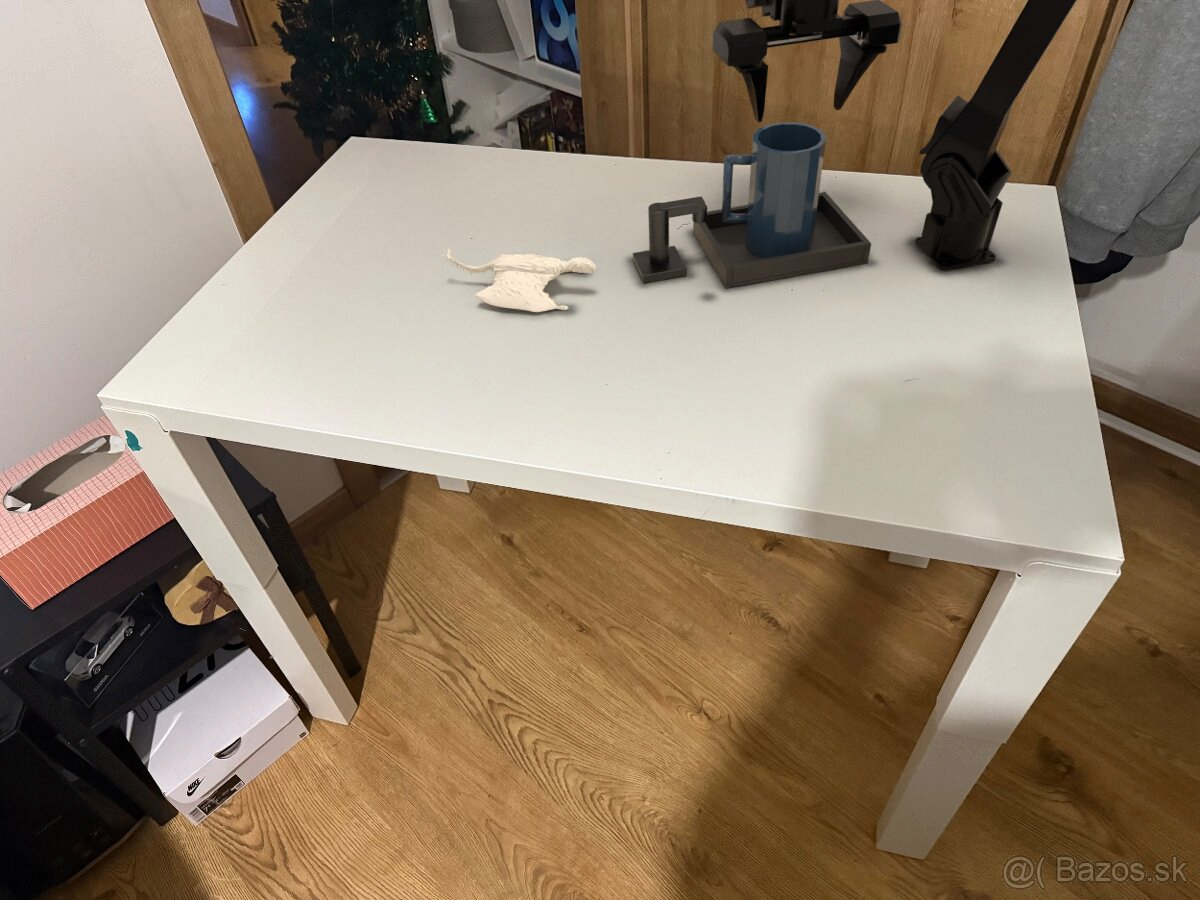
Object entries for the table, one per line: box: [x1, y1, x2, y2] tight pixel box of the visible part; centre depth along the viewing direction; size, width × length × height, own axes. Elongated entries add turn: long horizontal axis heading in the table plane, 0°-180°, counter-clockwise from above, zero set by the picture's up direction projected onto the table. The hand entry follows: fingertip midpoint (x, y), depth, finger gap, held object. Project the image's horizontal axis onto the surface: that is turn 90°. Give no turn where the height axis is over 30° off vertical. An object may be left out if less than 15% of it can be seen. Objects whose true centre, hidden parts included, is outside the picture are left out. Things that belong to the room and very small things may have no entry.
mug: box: [721, 121, 827, 259], centre depth 90 cm, size 10×7×12 cm
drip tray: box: [692, 191, 872, 289], centre depth 93 cm, size 16×12×2 cm
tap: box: [632, 196, 708, 284], centre depth 90 cm, size 8×5×8 cm, turn 102°
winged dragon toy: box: [442, 247, 597, 313], centre depth 90 cm, size 18×10×4 cm, turn 77°
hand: (797, 114), depth 91 cm, fingers open, 9 cm apart
